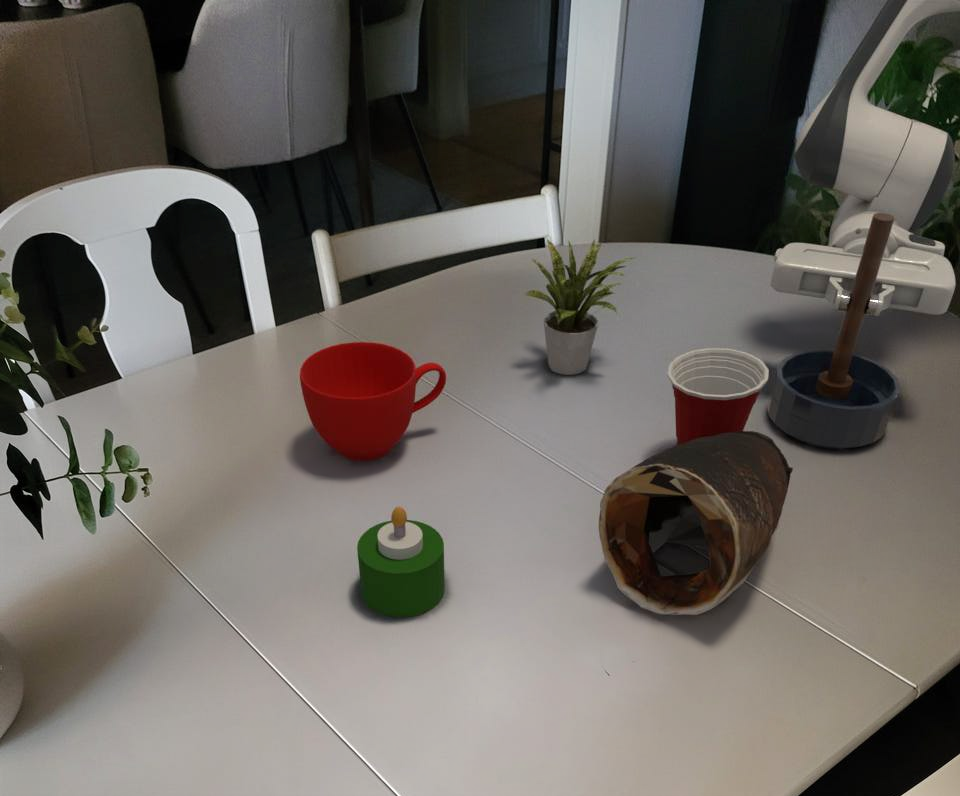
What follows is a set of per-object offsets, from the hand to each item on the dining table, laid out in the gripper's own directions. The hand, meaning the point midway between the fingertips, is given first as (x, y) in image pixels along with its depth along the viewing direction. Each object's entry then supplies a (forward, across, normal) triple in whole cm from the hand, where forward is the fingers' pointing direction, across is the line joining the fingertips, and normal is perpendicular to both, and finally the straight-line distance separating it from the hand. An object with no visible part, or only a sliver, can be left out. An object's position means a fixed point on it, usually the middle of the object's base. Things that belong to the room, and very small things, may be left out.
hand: (858, 306), depth 110 cm
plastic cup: (+13, -13, +16) cm, 24 cm away
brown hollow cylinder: (+29, -10, +16) cm, 35 cm away
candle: (+46, -38, +16) cm, 61 cm away
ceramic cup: (+22, -50, +16) cm, 57 cm away
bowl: (-1, 0, +15) cm, 15 cm away
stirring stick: (-1, 0, +11) cm, 11 cm away
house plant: (-3, -33, +16) cm, 36 cm away
